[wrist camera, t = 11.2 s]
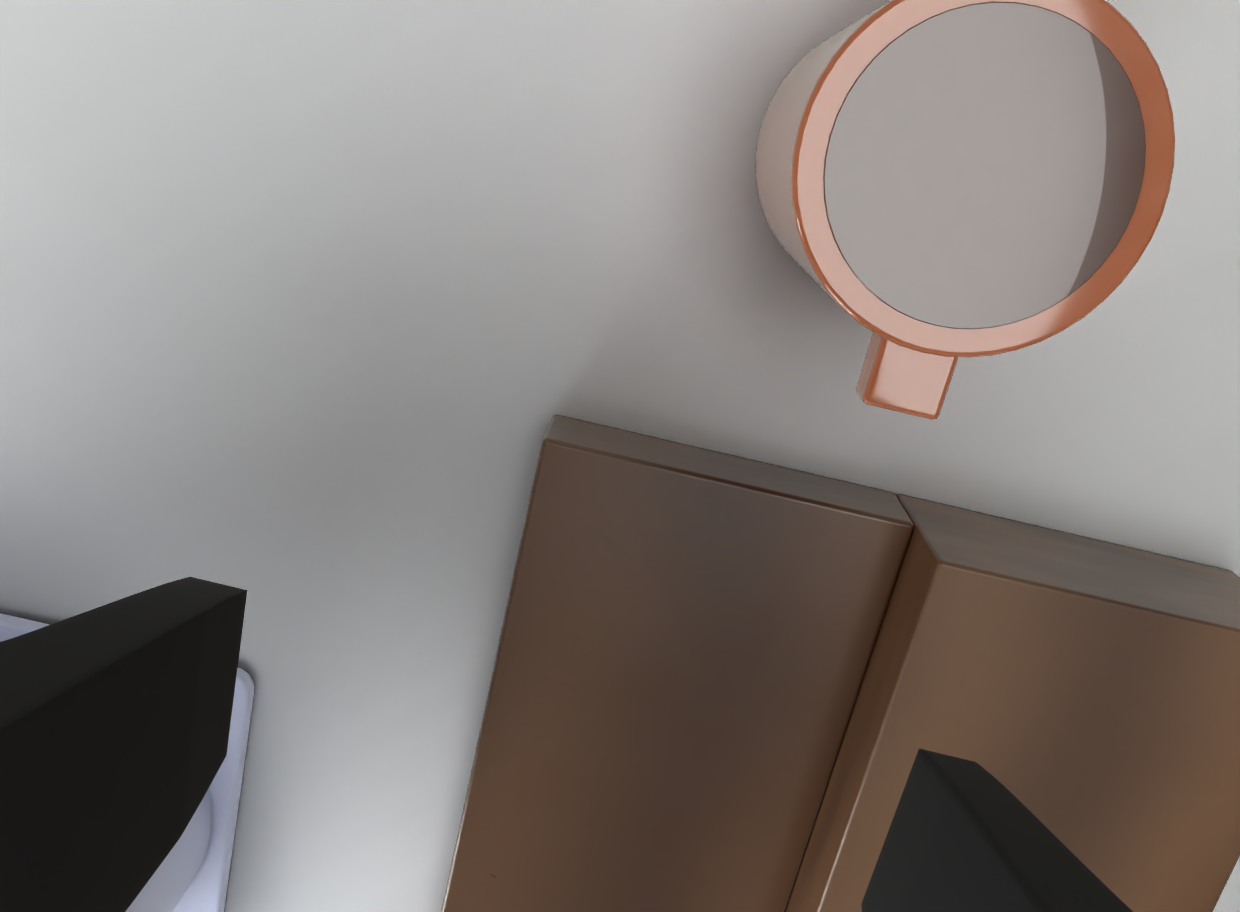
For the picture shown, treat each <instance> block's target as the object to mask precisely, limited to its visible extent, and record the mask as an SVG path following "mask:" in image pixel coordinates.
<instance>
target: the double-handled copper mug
mask: <svg viewBox="0 0 1240 912" xmlns="http://www.w3.org/2000/svg"><path fill="white" fill-rule="evenodd" d="M1174 151H1175V134H1174V122H1173V113H1172V108H1171V104H1170V99H1169V95H1168V90H1167V87H1166V85H1165V82H1164V79H1163V77H1162V74H1161V71H1160V69H1159V66H1158V64H1157V62H1156V60H1155V58H1154V57H1153V55H1152V53H1151V51H1150V49H1149V48H1148V46H1147V44H1146V42H1145V41H1144V40H1143V39H1142V37H1141V36H1140V35H1139V33H1138V32H1137V31H1136V29H1135V28H1134V27H1133V25H1132V24H1131V23H1130V22H1129V21H1128V20H1127V19H1126V18H1125V17H1124V16H1123V15H1122V14H1121V13H1120V12H1119V11H1118V10H1117V9H1116V8H1114V7H1113V6H1112V5H1111V4H1110V3H1108V2H1107V1H1105V0H891V1H889V2H888V3H886V4H884V5H883V6H881V7H879V8H878V9H876V10H874V11H873V12H871V13H869V14H868V15H866V16H864V17H863V18H861V19H859V20H858V21H856V22H855V23H853V24H851V25H850V26H848V27H846V28H845V29H843V30H841V31H840V32H838V33H836V34H835V35H833V36H831V37H830V38H828V39H826V40H825V41H823V42H822V43H821V44H819V45H818V46H817V47H815V48H814V49H813V50H811V51H810V52H809V53H808V54H807V55H806V56H804V57H803V58H802V59H801V60H800V61H799V62H798V63H797V64H796V65H795V66H794V68H793V69H792V70H791V71H790V72H789V74H788V75H787V76H786V77H785V79H784V80H783V81H782V83H781V85H780V86H779V88H778V89H777V91H776V93H775V94H774V96H773V98H772V100H771V102H770V104H769V107H768V109H767V111H766V113H765V116H764V119H763V122H762V126H761V129H760V133H759V138H758V143H757V149H756V164H755V168H756V184H757V189H758V194H759V199H760V203H761V206H762V209H763V212H764V215H765V218H766V220H767V222H768V224H769V226H770V228H771V230H772V232H773V234H774V235H775V237H776V238H777V240H778V241H779V243H780V244H781V246H782V247H783V248H784V249H785V250H786V252H787V253H788V254H789V255H790V256H791V257H792V258H793V259H794V260H795V261H796V262H797V263H798V264H799V265H800V266H801V267H802V269H803V270H804V271H805V272H806V273H807V274H808V275H809V276H810V277H811V278H812V279H813V280H814V281H815V282H816V283H817V284H818V285H819V286H820V287H821V288H822V289H823V290H824V291H825V292H826V293H827V294H828V295H829V296H830V297H831V298H832V299H833V300H834V301H835V302H836V303H837V304H838V305H839V306H840V307H841V308H842V309H843V310H844V311H846V312H847V313H848V314H849V315H850V316H851V317H853V318H854V319H855V320H856V321H857V322H859V323H860V324H861V325H863V326H864V327H866V328H867V329H869V330H870V331H872V332H873V334H872V338H871V341H870V344H869V347H868V351H867V354H866V357H865V361H864V364H863V367H862V370H861V374H860V377H859V380H858V383H857V387H856V392H857V394H858V395H859V397H860V398H861V400H862V401H863V402H864V403H866V404H867V405H871V406H876V407H880V408H884V409H889V410H893V411H897V412H901V413H906V414H910V415H914V416H918V417H923V418H927V419H931V420H932V419H937V418H938V416H939V415H940V412H941V409H942V406H943V403H944V400H945V397H946V394H947V391H948V388H949V385H950V382H951V379H952V376H953V373H954V370H955V367H956V364H957V361H958V358H959V357H979V356H990V355H996V354H1001V353H1006V352H1010V351H1015V350H1018V349H1021V348H1024V347H1027V346H1030V345H1033V344H1036V343H1039V342H1041V341H1043V340H1045V339H1047V338H1049V337H1051V336H1053V335H1055V334H1057V333H1060V332H1062V331H1063V330H1065V329H1066V328H1068V327H1070V326H1071V325H1073V324H1074V323H1076V322H1077V321H1079V320H1081V319H1082V318H1084V317H1085V316H1086V315H1087V314H1089V313H1090V312H1091V311H1092V310H1093V309H1095V308H1096V307H1097V306H1098V305H1100V304H1101V303H1102V302H1103V301H1104V300H1105V299H1106V298H1107V297H1108V296H1109V295H1110V294H1111V293H1112V292H1113V291H1114V290H1115V289H1116V288H1117V287H1118V286H1119V285H1120V284H1121V283H1122V282H1123V280H1124V279H1125V278H1126V276H1127V275H1128V274H1129V272H1130V271H1131V270H1132V269H1133V267H1134V266H1135V265H1136V263H1137V262H1138V260H1139V259H1140V257H1141V255H1142V254H1143V252H1144V250H1145V249H1146V247H1147V245H1148V244H1149V242H1150V240H1151V238H1152V236H1153V234H1154V232H1155V229H1156V227H1157V225H1158V223H1159V220H1160V218H1161V216H1162V213H1163V210H1164V206H1165V203H1166V200H1167V197H1168V193H1169V190H1170V184H1171V178H1172V173H1173V167H1174Z"/></svg>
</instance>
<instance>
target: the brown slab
mask: <svg viewBox="0 0 1240 912" xmlns="http://www.w3.org/2000/svg"><path fill="white" fill-rule="evenodd" d="M919 749H924V750H928V751H932V752H936V753H941V754H945V755H949V756H953V757H958V758H962V759H966V760H970V761H975V762H977V763H978V764H979V765H981V766H982V767H983V768H984V769H985V770H987V771H988V772H989V773H990V774H991V775H993V776H994V777H995V778H996V779H997V780H998V781H999V782H1000V783H1001V784H1003V785H1004V786H1005V787H1006V788H1007V789H1008V790H1009V791H1010V792H1011V793H1012V794H1013V795H1014V796H1015V797H1016V798H1017V799H1018V800H1019V801H1020V802H1021V803H1022V804H1024V805H1025V806H1026V807H1027V808H1028V809H1029V810H1030V811H1031V812H1032V813H1033V814H1034V815H1035V816H1036V817H1037V818H1038V819H1039V820H1040V821H1041V822H1042V823H1043V824H1044V825H1045V826H1046V827H1047V828H1048V829H1049V830H1050V831H1051V832H1052V833H1053V834H1054V835H1055V836H1056V837H1057V838H1058V839H1059V840H1060V841H1061V842H1062V843H1063V844H1064V845H1065V846H1066V847H1067V848H1068V849H1069V850H1070V851H1071V852H1072V853H1073V854H1074V855H1075V856H1076V857H1077V858H1078V859H1079V860H1080V861H1081V862H1082V863H1083V864H1084V865H1085V866H1086V867H1087V868H1088V869H1089V870H1090V871H1091V872H1092V873H1093V874H1095V875H1096V876H1097V877H1098V878H1099V879H1100V880H1101V881H1102V882H1103V883H1104V884H1105V885H1106V886H1107V887H1108V888H1109V889H1110V890H1111V891H1112V892H1113V893H1114V894H1115V895H1116V896H1117V897H1118V898H1119V899H1120V900H1121V901H1122V902H1124V903H1125V904H1126V905H1127V906H1128V907H1129V908H1130V909H1131V910H1132V911H1133V912H1213V910H1214V908H1215V905H1216V903H1217V901H1218V899H1219V897H1220V895H1221V893H1222V891H1223V889H1224V887H1225V885H1226V883H1227V881H1228V879H1229V877H1230V875H1231V873H1232V871H1233V869H1234V866H1235V864H1236V862H1237V860H1238V858H1239V856H1240V577H1239V576H1237V575H1236V574H1235V573H1233V572H1232V571H1228V570H1223V569H1219V568H1215V567H1210V566H1206V565H1202V564H1197V563H1193V562H1189V561H1184V560H1180V559H1176V558H1172V557H1167V556H1163V555H1159V554H1154V553H1150V552H1146V551H1141V550H1137V549H1133V548H1128V547H1124V546H1120V545H1115V544H1111V543H1107V542H1103V541H1098V540H1094V539H1090V538H1085V537H1081V536H1077V535H1072V534H1068V533H1064V532H1059V531H1055V530H1051V529H1047V528H1042V527H1038V526H1034V525H1029V524H1025V523H1021V522H1016V521H1012V520H1008V519H1003V518H999V517H995V516H991V515H986V514H982V513H978V512H973V511H969V510H965V509H960V508H956V507H952V506H947V505H943V504H939V503H935V502H930V501H926V500H922V499H917V498H913V497H909V496H904V495H897V497H896V495H895V494H893V493H891V492H886V491H882V490H878V489H873V488H869V487H865V486H861V485H856V484H852V483H848V482H843V481H839V480H835V479H830V478H826V477H822V476H817V475H813V474H809V473H804V472H800V471H796V470H792V469H787V468H783V467H779V466H774V465H770V464H766V463H761V462H757V461H753V460H748V459H744V458H740V457H736V456H731V455H727V454H723V453H718V452H714V451H710V450H705V449H701V448H697V447H692V446H688V445H684V444H680V443H675V442H671V441H667V440H662V439H658V438H654V437H649V436H645V435H641V434H636V433H632V432H628V431H624V430H619V429H615V428H611V427H606V426H602V425H598V424H593V423H589V422H585V421H580V420H576V419H572V418H567V417H563V416H559V415H555V416H553V417H552V419H551V421H550V423H549V426H548V428H547V431H546V433H545V435H544V438H543V440H542V444H541V448H540V453H539V458H538V462H537V467H536V472H535V476H534V481H533V486H532V490H531V495H530V500H529V504H528V509H527V514H526V518H525V523H524V528H523V532H522V537H521V542H520V546H519V551H518V556H517V560H516V565H515V570H514V574H513V579H512V584H511V588H510V593H509V598H508V602H507V607H506V612H505V616H504V621H503V626H502V630H501V635H500V640H499V644H498V649H497V654H496V658H495V663H494V668H493V672H492V677H491V682H490V686H489V691H488V696H487V700H486V705H485V710H484V714H483V719H482V724H481V728H480V733H479V738H478V742H477V747H476V752H475V756H474V761H473V766H472V770H471V775H470V780H469V784H468V789H467V794H466V798H465V803H464V808H463V812H462V817H461V822H460V826H459V831H458V836H457V840H456V845H455V850H454V854H453V859H452V864H451V868H450V873H449V878H448V882H447V887H446V892H445V896H444V901H443V906H442V910H441V912H862V906H861V904H862V901H863V898H864V895H865V893H866V890H867V887H868V885H869V882H870V879H871V877H872V874H873V871H874V869H875V866H876V863H877V860H878V858H879V855H880V852H881V850H882V847H883V844H884V842H885V839H886V836H887V833H888V831H889V828H890V825H891V823H892V820H893V817H894V815H895V812H896V809H897V806H898V804H899V801H900V798H901V796H902V793H903V790H904V788H905V785H906V782H907V779H908V777H909V774H910V771H911V769H912V766H913V763H914V761H915V758H916V755H917V752H918V750H919Z"/></svg>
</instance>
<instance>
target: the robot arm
mask: <svg viewBox="0 0 1240 912" xmlns="http://www.w3.org/2000/svg"><path fill="white" fill-rule="evenodd" d="M246 595H247V590H243V589H239V588H235V587H231V586H226V585H222V584H218V583H214V582H209V581H205V580H201V579H197V578H192V577H188V578H184V579H181V580H177V581H173V582H170V583H167V584H163V585H160V586H157V587H154V588H151V589H148V590H146V591H143V592H140V593H137V594H134V595H131V596H129V597H126V598H123V599H120V600H118V601H115V602H112V603H109V604H107V605H104V606H101V607H98V608H96V609H93V610H90V611H87V612H85V613H82V614H79V615H76V616H73V617H71V618H68V619H65V620H62V621H59V622H57V623H54V624H51V625H50V624H46V623H42V622H37V621H33V620H28V619H24V618H19V617H15V616H10V615H6V614H2V613H0V912H224V908H225V901H226V894H227V887H228V879H229V872H230V865H231V857H232V850H233V843H234V836H235V828H236V821H237V814H238V807H239V799H240V792H241V785H242V778H243V770H244V763H245V756H246V749H247V741H248V734H249V727H250V719H251V712H252V705H253V698H254V683H253V681H252V679H251V677H250V675H249V674H248V673H246V672H245V671H244V670H243V669H241V668H238V659H239V651H240V643H241V635H242V627H243V619H244V611H245V603H246ZM861 906H862V912H1133V911H1132V910H1131V909H1130V908H1129V907H1128V906H1127V905H1126V904H1125V903H1124V902H1122V901H1121V900H1120V899H1119V898H1118V897H1117V896H1116V895H1115V894H1114V893H1113V892H1112V891H1111V890H1110V889H1109V888H1108V887H1107V886H1106V885H1105V884H1104V883H1103V882H1102V881H1101V880H1100V879H1099V878H1098V877H1097V876H1096V875H1095V874H1093V873H1092V872H1091V871H1090V870H1089V869H1088V868H1087V867H1086V866H1085V865H1084V864H1083V863H1082V862H1081V861H1080V860H1079V859H1078V858H1077V857H1076V856H1075V855H1074V854H1073V853H1072V852H1071V851H1070V850H1069V849H1068V848H1067V847H1066V846H1065V845H1064V844H1063V843H1062V842H1061V841H1060V840H1059V839H1058V838H1057V837H1056V836H1055V835H1054V834H1053V833H1052V832H1051V831H1050V830H1049V829H1048V828H1047V827H1046V826H1045V825H1044V824H1043V823H1042V822H1041V821H1040V820H1039V819H1038V818H1037V817H1036V816H1035V815H1034V814H1033V813H1032V812H1031V811H1030V810H1029V809H1028V808H1027V807H1026V806H1025V805H1024V804H1022V803H1021V802H1020V801H1019V800H1018V799H1017V798H1016V797H1015V796H1014V795H1013V794H1012V793H1011V792H1010V791H1009V790H1008V789H1007V788H1006V787H1005V786H1004V785H1003V784H1001V783H1000V782H999V781H998V780H997V779H996V778H995V777H994V776H993V775H991V774H990V773H989V772H988V771H987V770H985V769H984V768H983V767H982V766H981V765H979V764H978V763H977V762H975V761H970V760H966V759H962V758H958V757H953V756H949V755H945V754H941V753H936V752H932V751H928V750H924V749H919V750H918V752H917V755H916V758H915V761H914V763H913V766H912V769H911V771H910V774H909V777H908V779H907V782H906V785H905V788H904V790H903V793H902V796H901V798H900V801H899V804H898V806H897V809H896V812H895V815H894V817H893V820H892V823H891V825H890V828H889V831H888V833H887V836H886V839H885V842H884V844H883V847H882V850H881V852H880V855H879V858H878V860H877V863H876V866H875V869H874V871H873V874H872V877H871V879H870V882H869V885H868V887H867V890H866V893H865V895H864V898H863V901H862V904H861Z"/></svg>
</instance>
